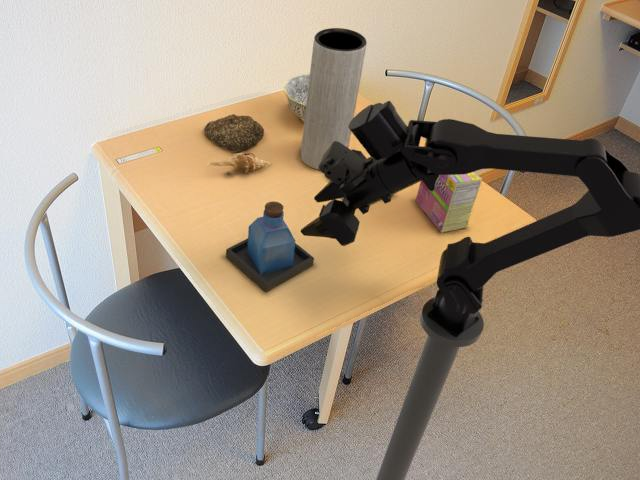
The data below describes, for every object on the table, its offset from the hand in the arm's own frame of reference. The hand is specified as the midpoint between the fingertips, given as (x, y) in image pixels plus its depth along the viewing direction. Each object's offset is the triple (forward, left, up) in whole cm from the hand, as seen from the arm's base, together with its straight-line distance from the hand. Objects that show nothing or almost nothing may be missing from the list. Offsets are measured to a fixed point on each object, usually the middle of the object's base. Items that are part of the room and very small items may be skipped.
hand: (309, 215), depth 109 cm
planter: (+23, -28, -13) cm, 38 cm away
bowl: (+36, -38, -13) cm, 54 cm away
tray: (+5, +3, -12) cm, 14 cm away
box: (-5, -33, -13) cm, 35 cm away
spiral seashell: (+30, -10, -13) cm, 34 cm away
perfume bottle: (+5, +3, -12) cm, 14 cm away
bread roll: (+41, -18, -13) cm, 46 cm away
